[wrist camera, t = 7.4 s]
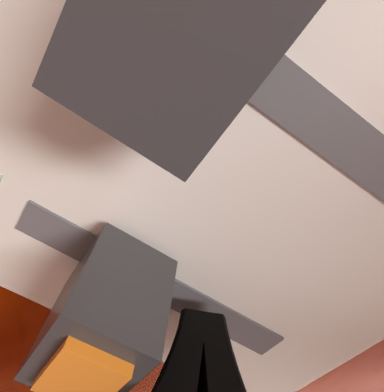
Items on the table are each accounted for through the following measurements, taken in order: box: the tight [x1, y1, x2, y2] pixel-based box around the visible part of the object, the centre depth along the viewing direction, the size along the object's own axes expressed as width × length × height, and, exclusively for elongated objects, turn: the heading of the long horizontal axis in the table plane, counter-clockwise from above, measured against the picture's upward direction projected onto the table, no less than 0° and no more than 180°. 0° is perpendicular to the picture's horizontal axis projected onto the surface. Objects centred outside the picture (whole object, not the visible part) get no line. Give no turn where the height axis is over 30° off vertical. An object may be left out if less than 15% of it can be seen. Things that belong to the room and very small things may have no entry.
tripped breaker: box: [14, 222, 178, 392], centre depth 9 cm, size 2×3×4 cm
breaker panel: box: [0, 0, 384, 392], centre depth 9 cm, size 15×21×2 cm
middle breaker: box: [32, 0, 327, 182], centre depth 5 cm, size 2×3×3 cm
